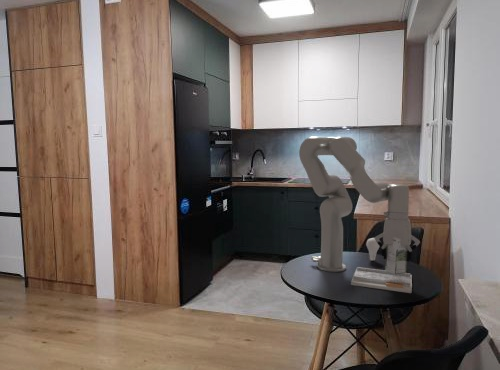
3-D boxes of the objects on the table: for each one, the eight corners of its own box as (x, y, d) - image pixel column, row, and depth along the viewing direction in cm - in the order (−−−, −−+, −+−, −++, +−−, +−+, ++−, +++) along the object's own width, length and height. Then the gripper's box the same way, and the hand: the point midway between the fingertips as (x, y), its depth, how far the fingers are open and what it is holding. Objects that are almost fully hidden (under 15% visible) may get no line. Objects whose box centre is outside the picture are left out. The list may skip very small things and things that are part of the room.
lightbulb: (363, 259, 181) (364, 236, 180) (375, 258, 181) (376, 236, 180) (368, 262, 175) (369, 239, 174) (381, 262, 175) (382, 239, 174)
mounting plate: (350, 284, 147) (350, 279, 147) (356, 270, 164) (356, 266, 163) (411, 293, 138) (411, 288, 138) (411, 277, 155) (411, 272, 155)
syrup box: (396, 268, 152) (397, 233, 151) (406, 273, 147) (408, 237, 145) (384, 270, 150) (385, 234, 149) (395, 275, 145) (396, 238, 143)
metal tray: (353, 279, 149) (353, 276, 149) (357, 270, 161) (357, 267, 161) (410, 287, 141) (410, 283, 141) (410, 276, 153) (410, 273, 152)
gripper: (373, 215, 146) (372, 259, 148) (422, 219, 140) (420, 264, 141) (375, 212, 153) (373, 254, 155) (421, 215, 146) (420, 259, 148)
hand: (396, 259), depth 148 cm, fingers closed on syrup box, 8 cm apart
